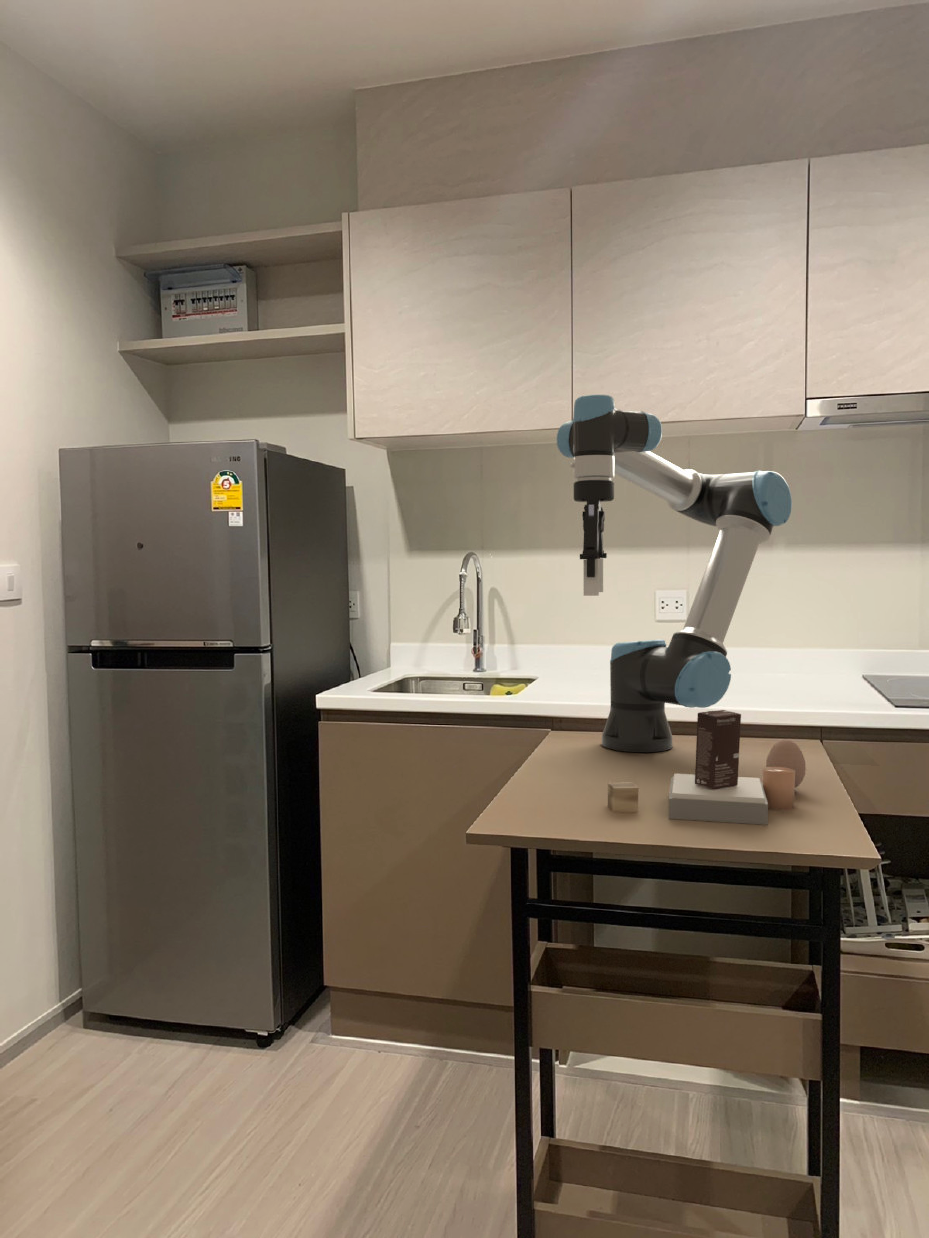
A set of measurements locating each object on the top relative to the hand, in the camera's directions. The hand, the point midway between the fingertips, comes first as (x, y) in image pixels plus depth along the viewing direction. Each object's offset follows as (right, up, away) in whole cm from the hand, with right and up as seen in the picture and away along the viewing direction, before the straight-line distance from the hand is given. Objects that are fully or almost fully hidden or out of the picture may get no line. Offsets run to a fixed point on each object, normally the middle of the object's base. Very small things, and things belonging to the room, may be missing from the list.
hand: (593, 594), depth 181 cm
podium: (+17, -36, -24) cm, 46 cm away
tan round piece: (+28, -36, -21) cm, 50 cm away
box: (+17, -32, -24) cm, 44 cm away
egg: (+32, -35, -11) cm, 49 cm away
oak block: (+2, -36, -23) cm, 43 cm away
